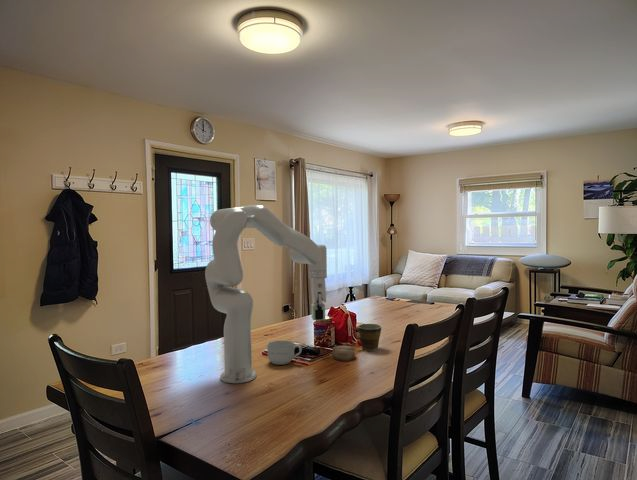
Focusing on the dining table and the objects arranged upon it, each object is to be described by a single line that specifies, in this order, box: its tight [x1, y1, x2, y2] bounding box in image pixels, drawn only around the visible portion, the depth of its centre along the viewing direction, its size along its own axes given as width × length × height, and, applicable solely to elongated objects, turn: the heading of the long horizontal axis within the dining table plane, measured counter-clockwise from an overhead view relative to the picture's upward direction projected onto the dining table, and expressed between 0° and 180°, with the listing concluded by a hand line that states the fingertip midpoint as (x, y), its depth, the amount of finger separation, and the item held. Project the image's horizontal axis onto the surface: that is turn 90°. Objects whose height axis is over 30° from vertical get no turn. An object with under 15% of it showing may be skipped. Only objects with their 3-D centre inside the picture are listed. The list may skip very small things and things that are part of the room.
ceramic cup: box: [350, 323, 382, 353], centre depth 182 cm, size 13×10×10 cm
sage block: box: [311, 302, 326, 321], centre depth 176 cm, size 5×5×6 cm
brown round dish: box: [331, 345, 356, 362], centre depth 171 cm, size 9×9×4 cm
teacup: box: [266, 339, 303, 366], centre depth 165 cm, size 14×11×8 cm
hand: (318, 317), depth 176 cm, fingers closed on sage block, 5 cm apart
